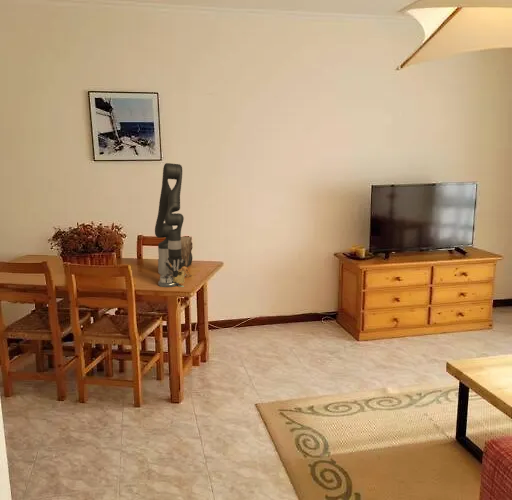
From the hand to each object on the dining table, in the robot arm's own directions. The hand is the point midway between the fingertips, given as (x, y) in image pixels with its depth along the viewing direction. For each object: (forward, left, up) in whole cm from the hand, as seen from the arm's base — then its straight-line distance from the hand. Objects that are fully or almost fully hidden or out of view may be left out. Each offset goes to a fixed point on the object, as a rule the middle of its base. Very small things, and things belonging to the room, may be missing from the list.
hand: (175, 276), depth 288 cm
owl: (-38, +38, -7) cm, 55 cm away
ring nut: (-5, +2, -4) cm, 7 cm away
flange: (-8, +1, -7) cm, 11 cm away
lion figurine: (-18, +18, -7) cm, 26 cm away
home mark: (+1, +4, -7) cm, 7 cm away
